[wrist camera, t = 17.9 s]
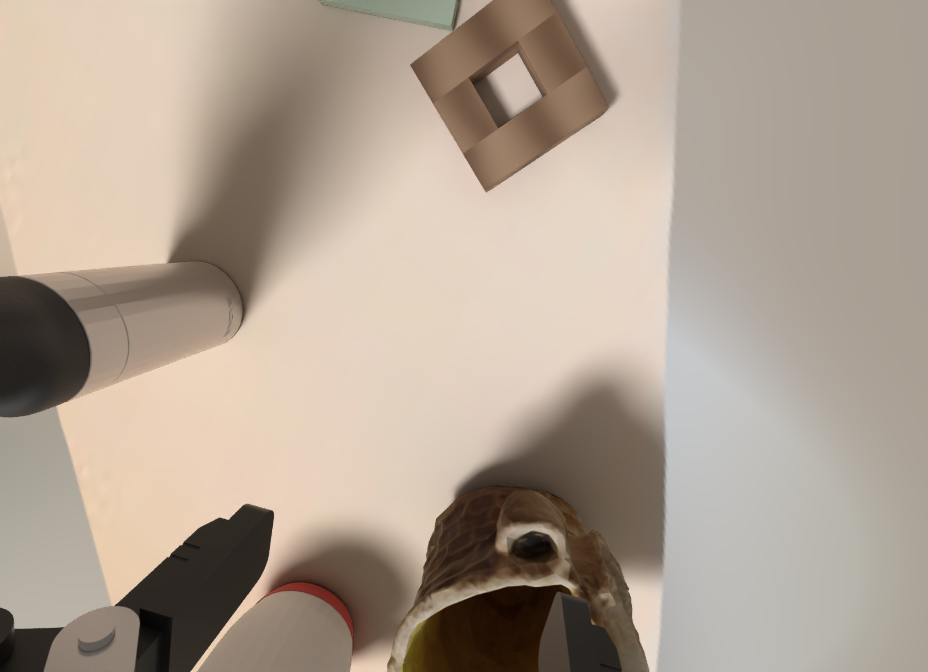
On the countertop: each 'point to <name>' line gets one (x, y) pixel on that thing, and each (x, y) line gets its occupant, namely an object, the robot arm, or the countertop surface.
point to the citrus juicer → (288, 634)
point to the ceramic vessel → (509, 585)
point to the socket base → (485, 49)
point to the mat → (405, 10)
